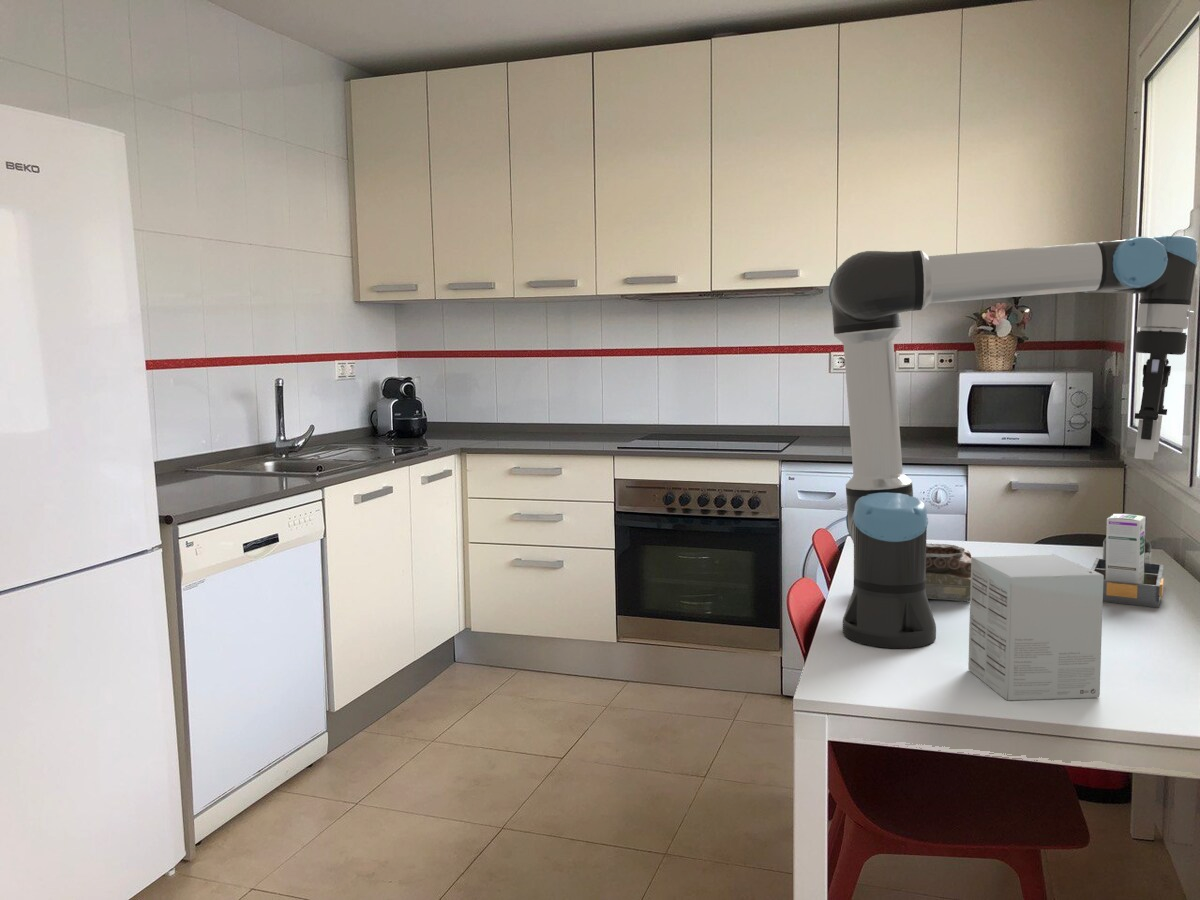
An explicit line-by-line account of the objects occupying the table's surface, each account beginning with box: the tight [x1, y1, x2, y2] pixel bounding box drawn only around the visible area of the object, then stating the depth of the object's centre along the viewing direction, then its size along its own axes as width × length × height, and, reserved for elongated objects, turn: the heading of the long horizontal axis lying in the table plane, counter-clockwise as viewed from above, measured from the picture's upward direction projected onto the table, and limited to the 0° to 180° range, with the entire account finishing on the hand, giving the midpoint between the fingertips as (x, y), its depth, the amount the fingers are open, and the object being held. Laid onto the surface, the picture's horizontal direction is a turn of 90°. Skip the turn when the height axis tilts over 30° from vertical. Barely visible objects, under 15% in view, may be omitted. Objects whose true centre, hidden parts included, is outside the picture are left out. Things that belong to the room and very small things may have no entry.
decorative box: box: [926, 542, 972, 603], centre depth 183 cm, size 13×20×10 cm, turn 67°
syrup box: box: [1105, 513, 1146, 584], centre depth 180 cm, size 6×6×14 cm
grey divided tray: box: [1090, 557, 1165, 608], centre depth 185 cm, size 20×12×4 cm, turn 148°
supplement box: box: [967, 554, 1104, 701], centre depth 136 cm, size 13×13×18 cm
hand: (1146, 455), depth 163 cm, fingers open, 13 cm apart
